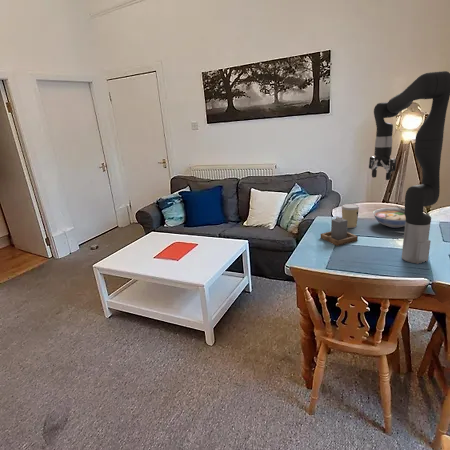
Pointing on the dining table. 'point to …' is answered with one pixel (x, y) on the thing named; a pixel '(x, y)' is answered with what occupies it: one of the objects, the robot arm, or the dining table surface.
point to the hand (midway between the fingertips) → (380, 178)
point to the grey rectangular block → (339, 228)
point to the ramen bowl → (391, 217)
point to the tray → (349, 239)
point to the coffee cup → (350, 214)
